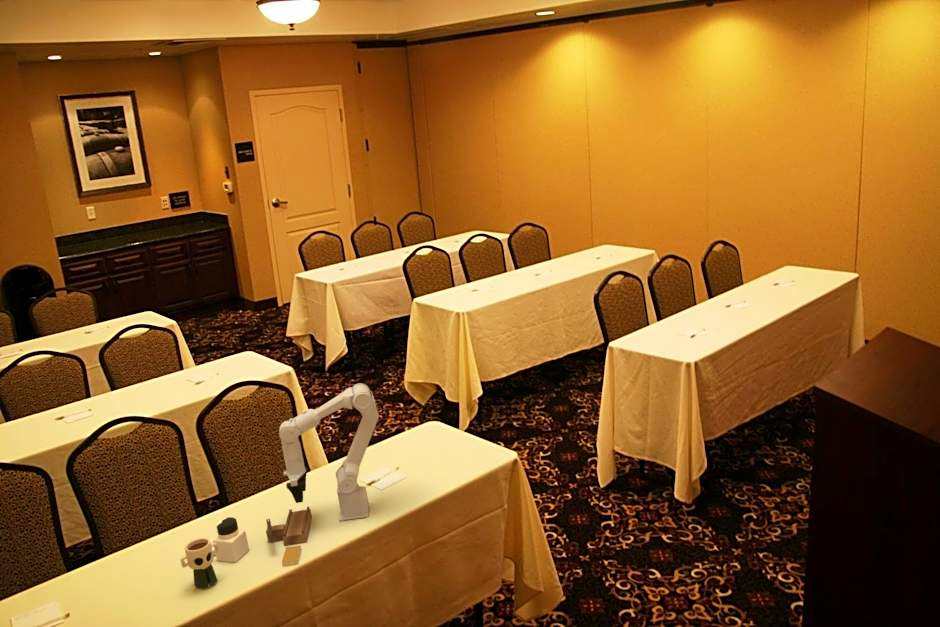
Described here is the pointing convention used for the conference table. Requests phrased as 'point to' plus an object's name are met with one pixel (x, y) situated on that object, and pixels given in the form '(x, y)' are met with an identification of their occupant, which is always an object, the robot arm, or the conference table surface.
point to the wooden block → (291, 556)
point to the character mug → (201, 561)
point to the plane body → (293, 528)
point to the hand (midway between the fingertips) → (300, 496)
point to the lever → (270, 530)
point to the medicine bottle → (230, 541)
